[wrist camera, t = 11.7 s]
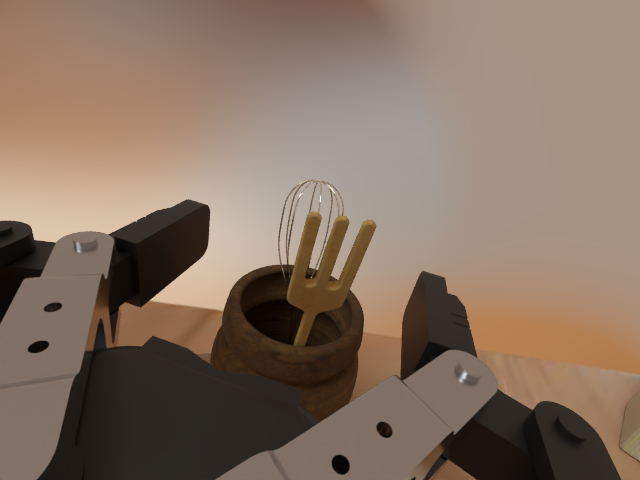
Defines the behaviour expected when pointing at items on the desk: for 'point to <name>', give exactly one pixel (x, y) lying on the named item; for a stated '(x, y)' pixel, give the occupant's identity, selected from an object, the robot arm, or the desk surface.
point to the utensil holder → (299, 318)
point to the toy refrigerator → (631, 428)
